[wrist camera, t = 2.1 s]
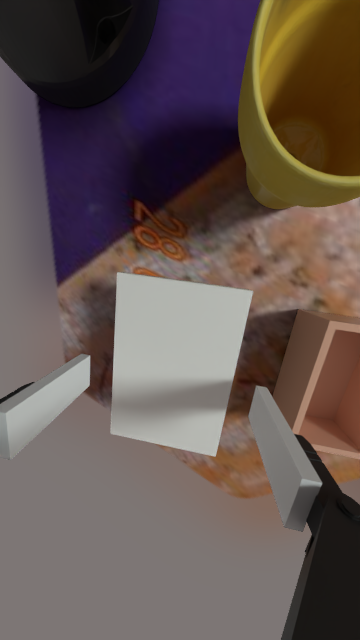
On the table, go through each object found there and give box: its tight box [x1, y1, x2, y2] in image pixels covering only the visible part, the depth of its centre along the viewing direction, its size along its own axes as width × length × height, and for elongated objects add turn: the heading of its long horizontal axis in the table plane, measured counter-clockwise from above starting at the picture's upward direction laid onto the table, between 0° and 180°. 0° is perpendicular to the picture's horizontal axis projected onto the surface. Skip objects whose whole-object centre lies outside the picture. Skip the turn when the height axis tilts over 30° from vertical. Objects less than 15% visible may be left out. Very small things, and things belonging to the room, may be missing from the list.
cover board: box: [111, 272, 253, 457], centre depth 16 cm, size 15×10×2 cm, turn 173°
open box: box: [272, 309, 360, 459], centre depth 18 cm, size 12×7×5 cm, turn 173°
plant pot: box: [238, 0, 360, 209], centre depth 12 cm, size 10×10×10 cm
